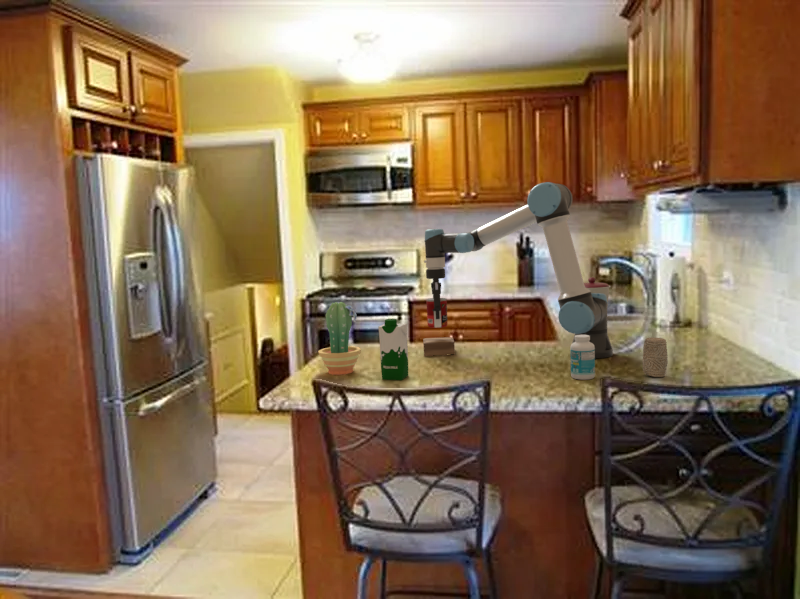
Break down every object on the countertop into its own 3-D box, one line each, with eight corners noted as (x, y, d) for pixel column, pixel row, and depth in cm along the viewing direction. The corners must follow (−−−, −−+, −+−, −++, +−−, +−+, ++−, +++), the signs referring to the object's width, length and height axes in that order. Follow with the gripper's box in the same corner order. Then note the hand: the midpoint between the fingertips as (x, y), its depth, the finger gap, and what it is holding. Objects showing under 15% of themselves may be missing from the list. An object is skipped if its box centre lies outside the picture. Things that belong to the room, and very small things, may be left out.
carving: (671, 377, 205) (671, 339, 204) (648, 379, 205) (647, 340, 203) (662, 373, 212) (661, 336, 210) (639, 374, 211) (638, 337, 210)
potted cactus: (345, 378, 226) (341, 305, 224) (310, 374, 235) (305, 304, 232) (370, 369, 239) (367, 300, 237) (336, 366, 248) (332, 299, 245)
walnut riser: (454, 354, 259) (454, 341, 258) (424, 356, 259) (423, 343, 258) (453, 349, 271) (452, 336, 270) (423, 350, 271) (423, 338, 270)
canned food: (446, 327, 259) (445, 299, 258) (426, 327, 261) (424, 300, 260) (448, 324, 267) (447, 297, 265) (429, 325, 268) (428, 298, 267)
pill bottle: (567, 376, 214) (566, 334, 213) (590, 374, 215) (589, 333, 213) (575, 381, 207) (574, 338, 205) (598, 379, 207) (598, 336, 206)
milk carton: (378, 380, 221) (375, 320, 219) (387, 374, 229) (385, 317, 227) (403, 381, 218) (400, 320, 216) (412, 375, 226) (409, 317, 224)
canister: (609, 320, 328) (609, 278, 326) (572, 320, 335) (571, 279, 333) (612, 315, 345) (611, 275, 343) (576, 315, 352) (575, 276, 349)
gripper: (425, 267, 272) (427, 322, 274) (426, 270, 251) (428, 330, 254) (443, 266, 271) (445, 321, 274) (446, 269, 251) (448, 329, 253)
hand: (437, 325), depth 264 cm, fingers closed on canned food, 8 cm apart
